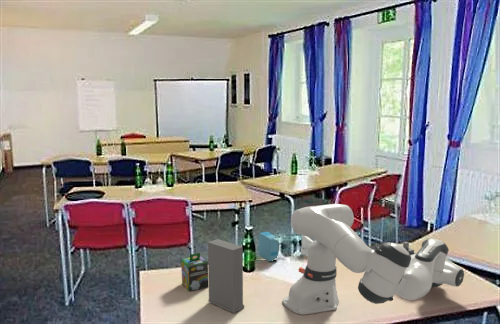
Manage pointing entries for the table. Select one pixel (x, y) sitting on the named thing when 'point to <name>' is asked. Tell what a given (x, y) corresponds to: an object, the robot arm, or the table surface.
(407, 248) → the plug
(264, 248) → the data package
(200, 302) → the table surface
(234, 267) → the tall grey upright box
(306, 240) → the white angled block
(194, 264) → the chalk box
